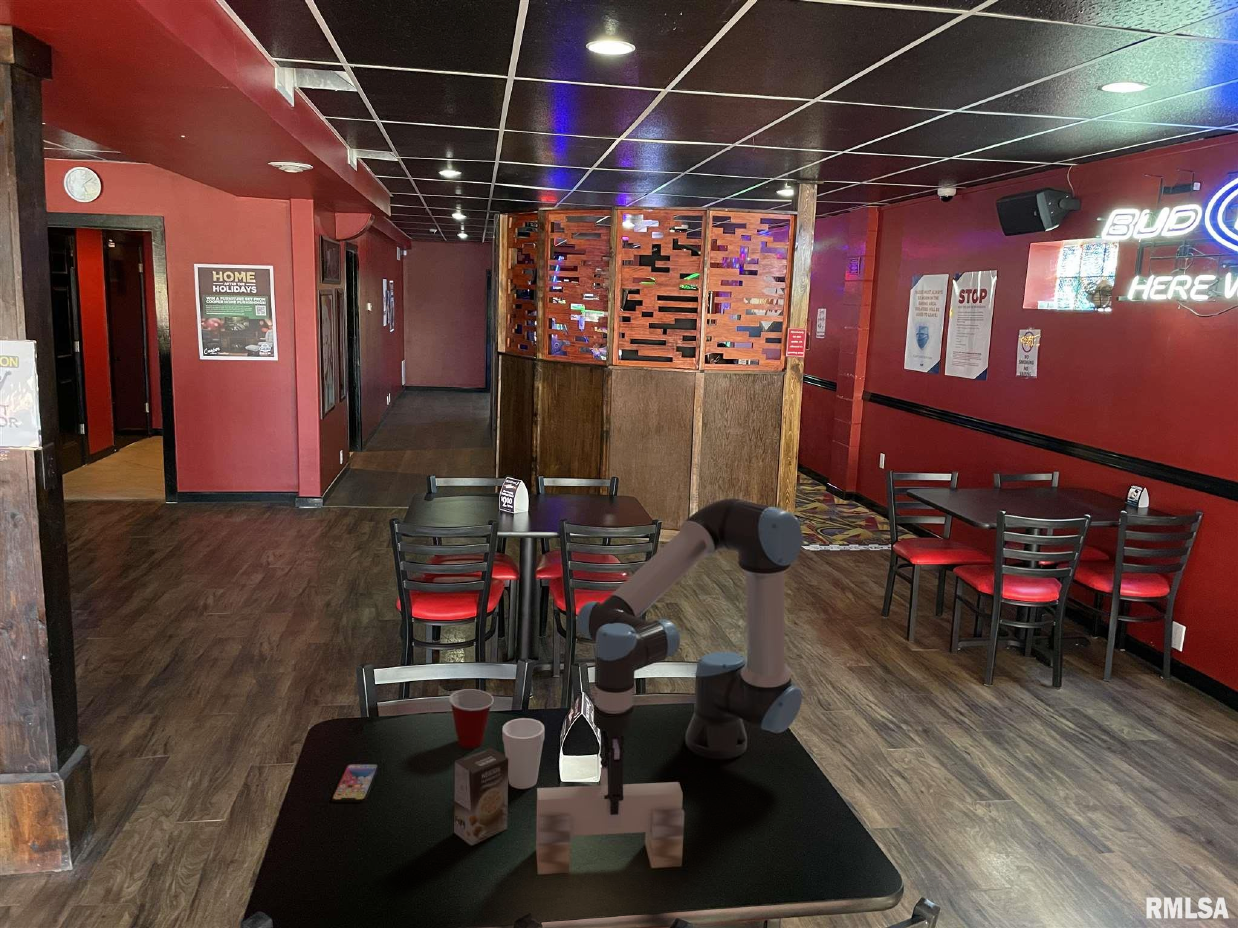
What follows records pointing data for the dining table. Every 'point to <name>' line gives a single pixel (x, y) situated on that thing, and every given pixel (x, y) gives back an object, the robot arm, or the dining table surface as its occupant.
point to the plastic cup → (470, 715)
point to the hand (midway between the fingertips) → (609, 811)
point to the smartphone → (355, 783)
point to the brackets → (659, 843)
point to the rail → (591, 806)
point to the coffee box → (481, 795)
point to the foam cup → (523, 751)
